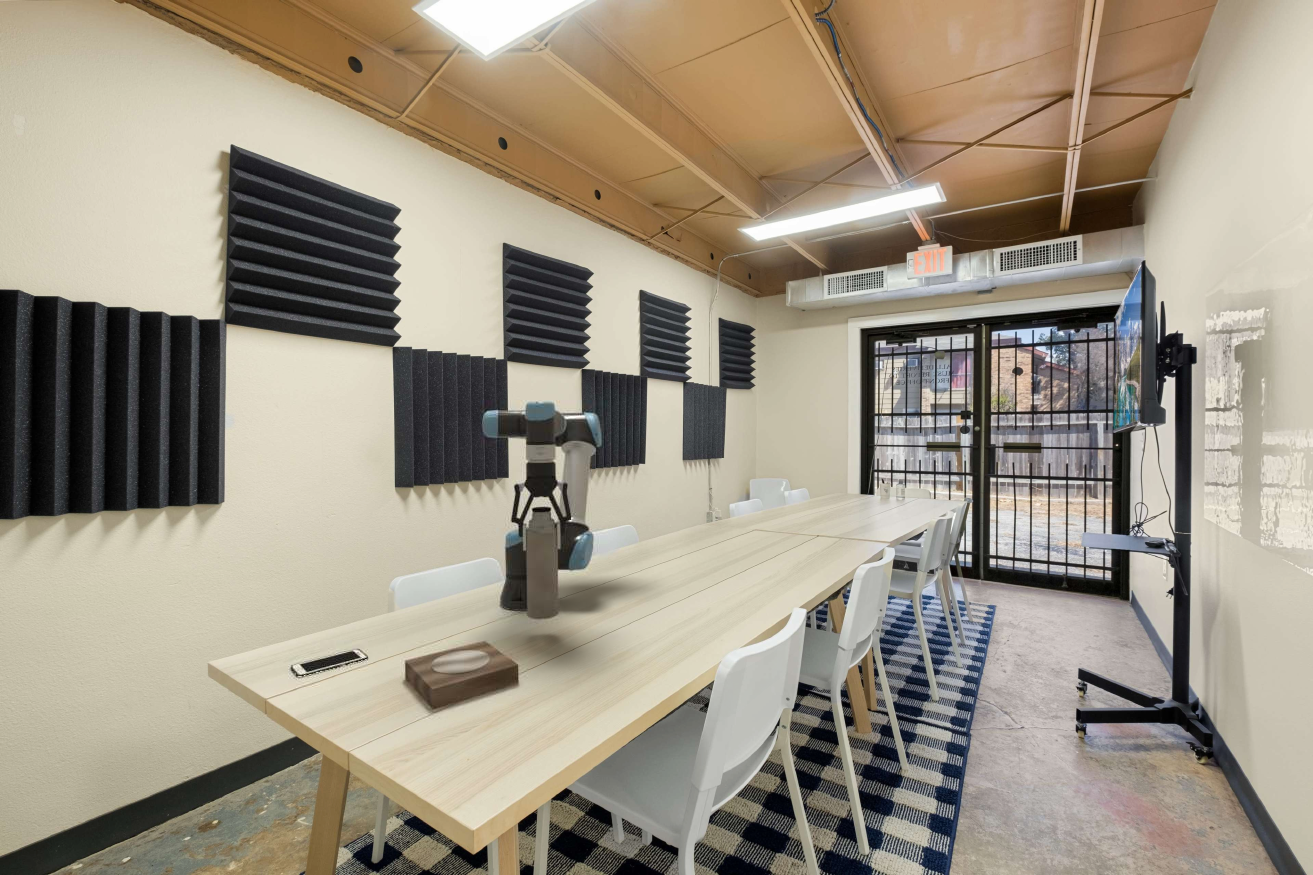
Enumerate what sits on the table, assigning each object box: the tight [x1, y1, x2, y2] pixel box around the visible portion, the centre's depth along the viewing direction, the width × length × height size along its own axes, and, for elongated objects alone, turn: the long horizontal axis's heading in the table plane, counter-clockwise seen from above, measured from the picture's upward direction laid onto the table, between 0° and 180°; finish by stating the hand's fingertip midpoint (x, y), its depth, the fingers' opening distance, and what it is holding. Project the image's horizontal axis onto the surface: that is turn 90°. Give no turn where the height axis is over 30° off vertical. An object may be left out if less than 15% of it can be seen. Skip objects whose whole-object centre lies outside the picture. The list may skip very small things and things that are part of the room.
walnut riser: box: [404, 640, 519, 710], centre depth 125 cm, size 18×18×4 cm
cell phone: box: [290, 648, 369, 677], centre depth 135 cm, size 8×15×1 cm, turn 135°
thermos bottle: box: [526, 506, 559, 620], centre depth 151 cm, size 8×8×28 cm
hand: (542, 548), depth 151 cm, fingers closed on thermos bottle, 8 cm apart
